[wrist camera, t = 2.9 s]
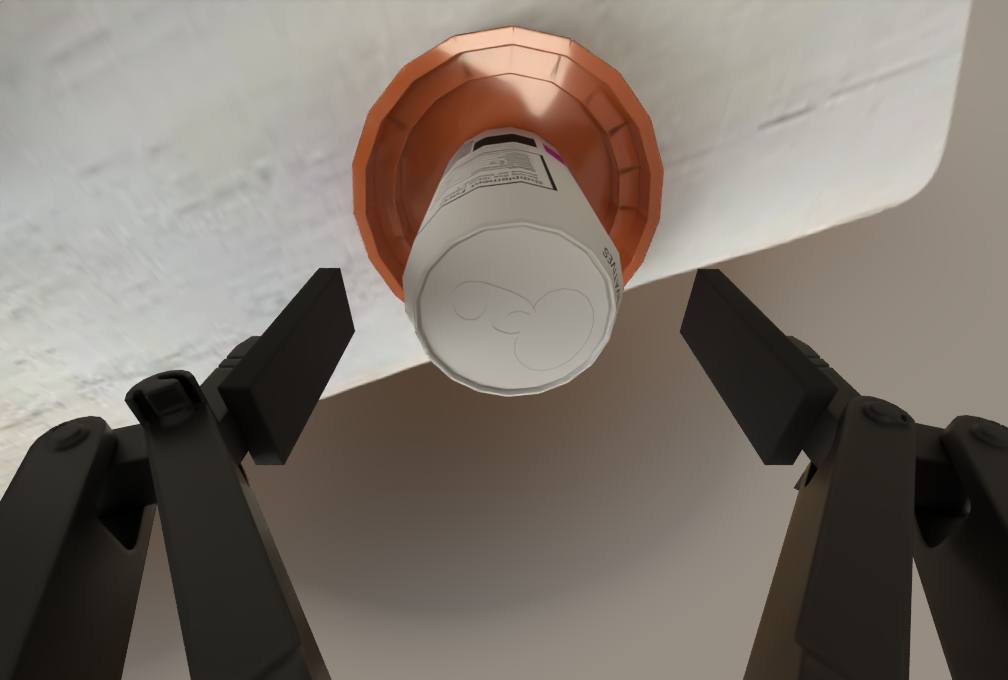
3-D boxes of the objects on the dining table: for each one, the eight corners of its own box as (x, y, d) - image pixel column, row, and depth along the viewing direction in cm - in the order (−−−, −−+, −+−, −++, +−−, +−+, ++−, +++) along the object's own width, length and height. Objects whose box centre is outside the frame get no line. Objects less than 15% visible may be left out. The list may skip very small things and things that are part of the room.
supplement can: (594, 159, 26) (684, 261, 13) (535, 273, 30) (562, 430, 17) (469, 99, 24) (440, 152, 11) (426, 230, 28) (370, 371, 16)
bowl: (372, 289, 31) (355, 322, 27) (373, -2, 21) (347, -13, 18) (593, 322, 33) (605, 357, 29) (683, 68, 23) (719, 72, 20)
